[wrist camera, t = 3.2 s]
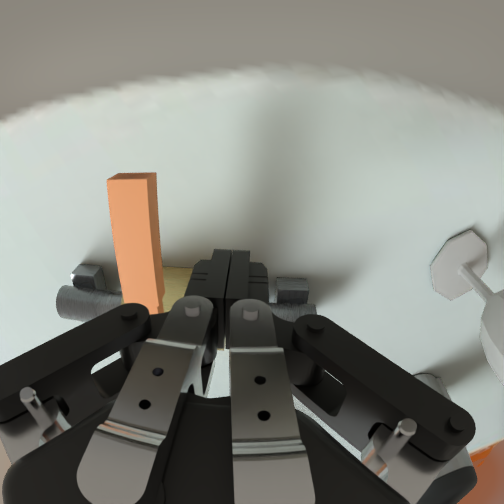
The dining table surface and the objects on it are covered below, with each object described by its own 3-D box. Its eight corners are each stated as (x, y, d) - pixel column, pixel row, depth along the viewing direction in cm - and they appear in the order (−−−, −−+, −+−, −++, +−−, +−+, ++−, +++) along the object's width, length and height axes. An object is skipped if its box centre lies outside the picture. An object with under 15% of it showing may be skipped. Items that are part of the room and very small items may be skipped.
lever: (186, 360, 26) (178, 391, 23) (151, 356, 26) (141, 386, 23) (172, 165, 18) (154, 179, 15) (125, 166, 18) (100, 180, 15)
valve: (311, 274, 31) (325, 325, 24) (303, 320, 34) (312, 374, 27) (75, 260, 31) (38, 299, 24) (86, 303, 34) (56, 346, 27)
